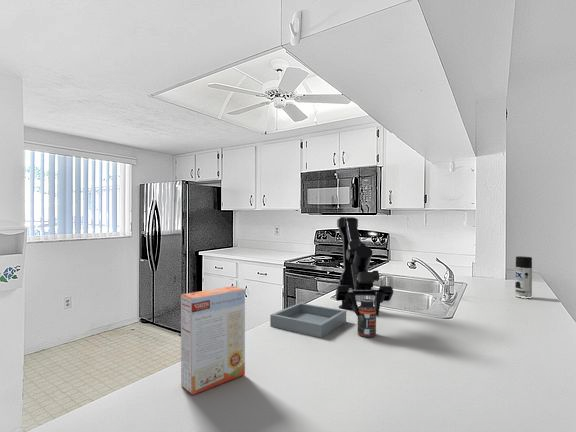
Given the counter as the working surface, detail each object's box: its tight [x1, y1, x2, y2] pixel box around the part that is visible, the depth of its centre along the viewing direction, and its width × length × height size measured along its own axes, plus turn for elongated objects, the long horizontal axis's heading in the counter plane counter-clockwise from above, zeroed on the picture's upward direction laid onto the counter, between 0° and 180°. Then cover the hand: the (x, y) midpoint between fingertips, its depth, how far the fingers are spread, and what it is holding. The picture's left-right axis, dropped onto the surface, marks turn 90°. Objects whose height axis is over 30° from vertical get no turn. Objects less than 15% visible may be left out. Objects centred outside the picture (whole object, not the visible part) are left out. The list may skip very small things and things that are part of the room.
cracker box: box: [180, 285, 246, 396], centre depth 77 cm, size 14×6×21 cm, turn 133°
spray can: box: [514, 256, 533, 297], centre depth 164 cm, size 7×7×20 cm
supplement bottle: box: [356, 298, 377, 338], centre depth 109 cm, size 6×6×11 cm
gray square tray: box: [269, 302, 347, 338], centre depth 120 cm, size 20×20×4 cm
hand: (367, 315), depth 108 cm, fingers closed on supplement bottle, 6 cm apart
